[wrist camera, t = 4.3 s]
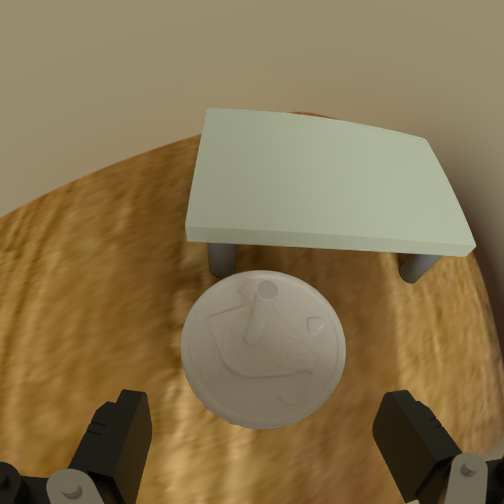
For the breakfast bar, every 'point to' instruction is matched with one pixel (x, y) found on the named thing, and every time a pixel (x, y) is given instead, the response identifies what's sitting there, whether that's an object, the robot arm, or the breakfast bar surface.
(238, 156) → the small table
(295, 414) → the smoothie
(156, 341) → the breakfast bar surface
